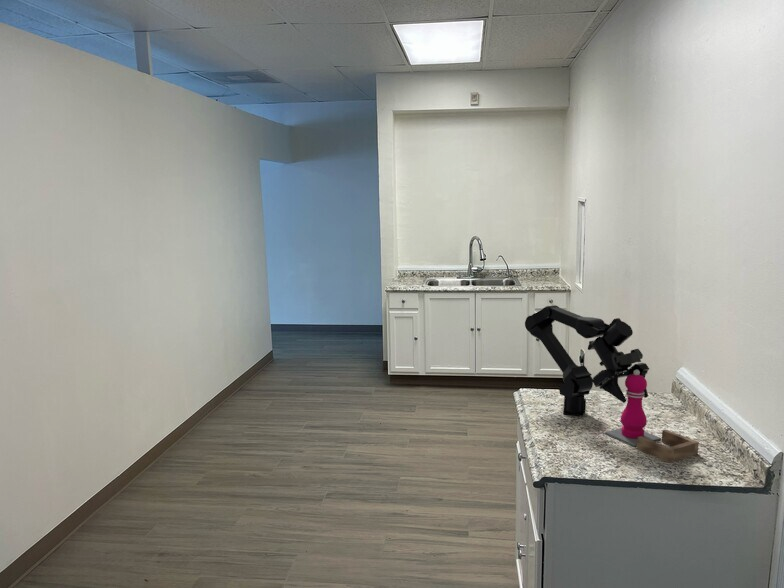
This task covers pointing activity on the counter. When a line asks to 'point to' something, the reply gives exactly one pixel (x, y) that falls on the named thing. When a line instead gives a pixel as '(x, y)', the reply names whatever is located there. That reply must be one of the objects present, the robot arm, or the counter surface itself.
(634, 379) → the pepper mill
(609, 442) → the counter surface
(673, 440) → the walnut cradle
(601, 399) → the counter surface
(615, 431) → the rubber mat
